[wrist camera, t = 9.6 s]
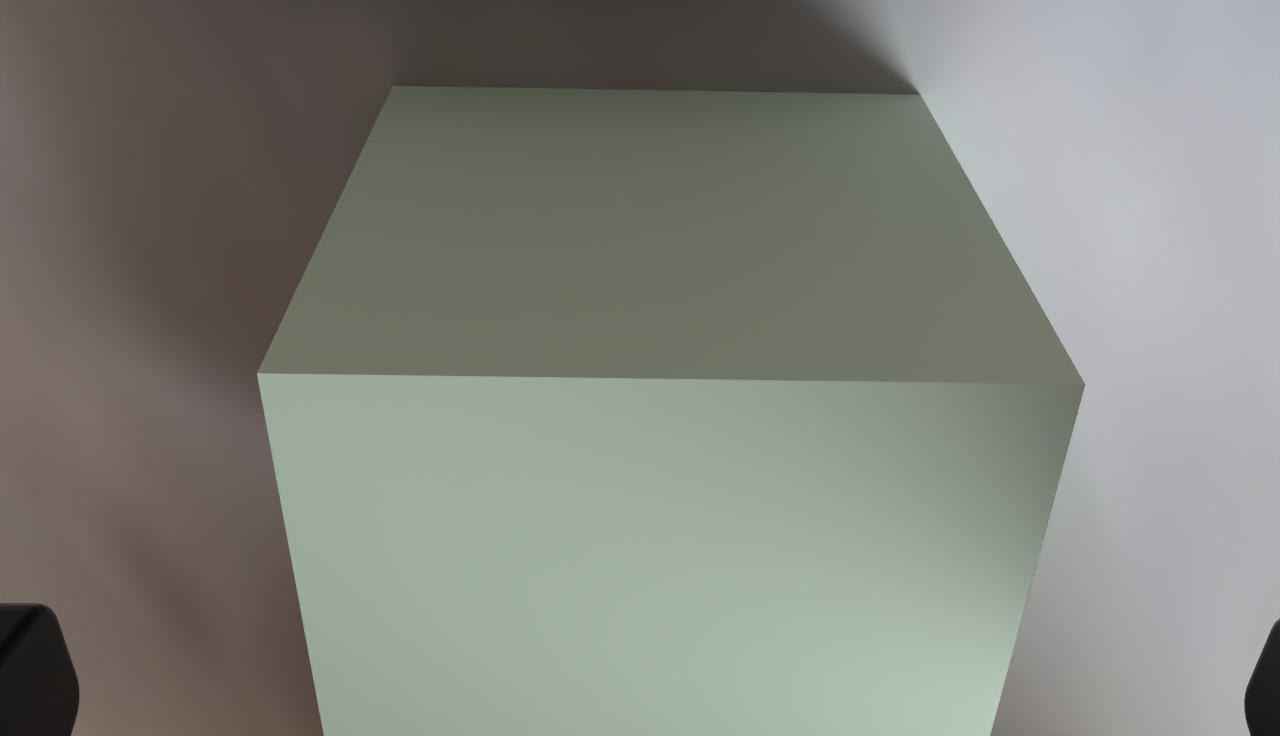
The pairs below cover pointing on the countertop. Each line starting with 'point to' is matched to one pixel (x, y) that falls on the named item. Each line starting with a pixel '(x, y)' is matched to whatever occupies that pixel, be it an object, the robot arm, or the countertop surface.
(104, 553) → the countertop surface
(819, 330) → the sage block
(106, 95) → the countertop surface
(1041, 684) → the countertop surface
